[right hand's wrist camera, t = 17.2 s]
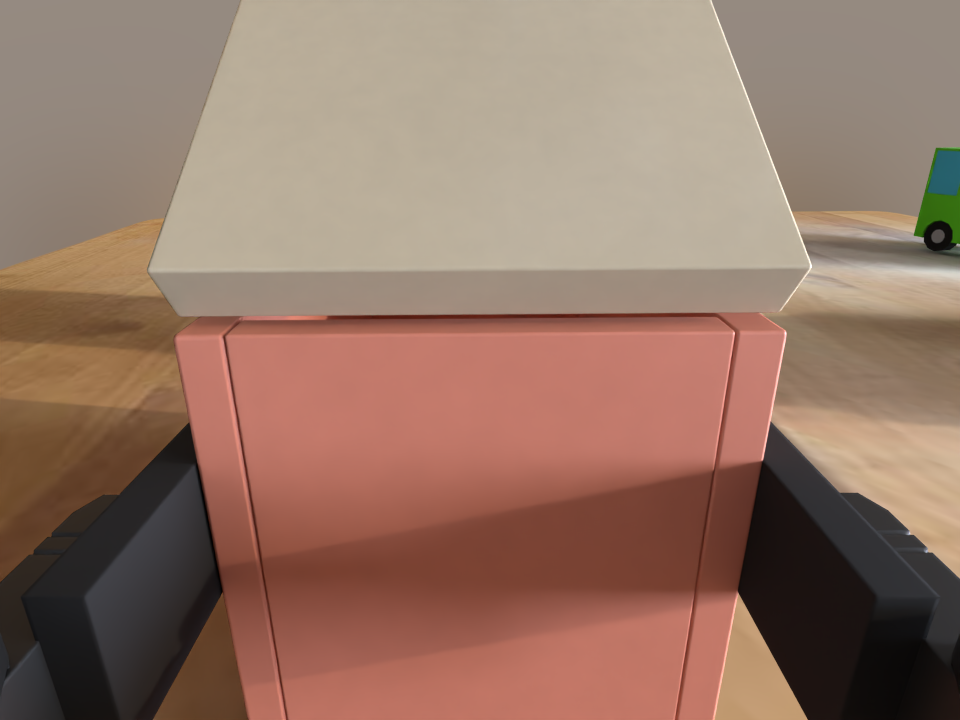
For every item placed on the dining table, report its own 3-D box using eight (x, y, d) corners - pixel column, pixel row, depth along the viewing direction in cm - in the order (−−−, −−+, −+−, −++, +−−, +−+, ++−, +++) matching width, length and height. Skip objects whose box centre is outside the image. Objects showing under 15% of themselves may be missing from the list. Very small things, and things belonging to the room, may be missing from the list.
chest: (365, 446, 26) (345, 209, 22) (587, 444, 26) (604, 207, 22) (257, 780, 13) (168, 335, 9) (706, 773, 13) (789, 331, 9)
